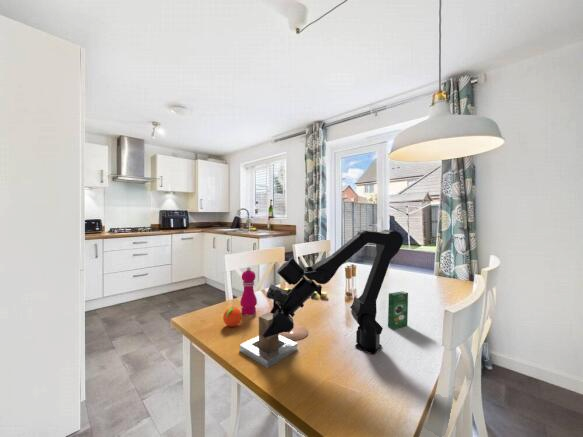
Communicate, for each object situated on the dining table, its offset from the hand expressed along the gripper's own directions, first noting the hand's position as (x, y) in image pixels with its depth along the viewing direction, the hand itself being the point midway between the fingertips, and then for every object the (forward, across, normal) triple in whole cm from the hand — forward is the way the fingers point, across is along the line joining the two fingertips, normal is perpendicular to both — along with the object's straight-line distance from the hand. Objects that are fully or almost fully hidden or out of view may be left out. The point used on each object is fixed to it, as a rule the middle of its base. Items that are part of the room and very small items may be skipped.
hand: (264, 329), depth 79 cm
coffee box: (-31, -14, +41) cm, 53 cm away
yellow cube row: (-8, -49, +19) cm, 53 cm away
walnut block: (+4, 0, +6) cm, 7 cm away
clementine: (+14, -18, -5) cm, 23 cm away
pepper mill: (+11, -31, -1) cm, 33 cm away
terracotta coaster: (-2, -11, +12) cm, 16 cm away
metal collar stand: (+4, 0, +6) cm, 7 cm away
